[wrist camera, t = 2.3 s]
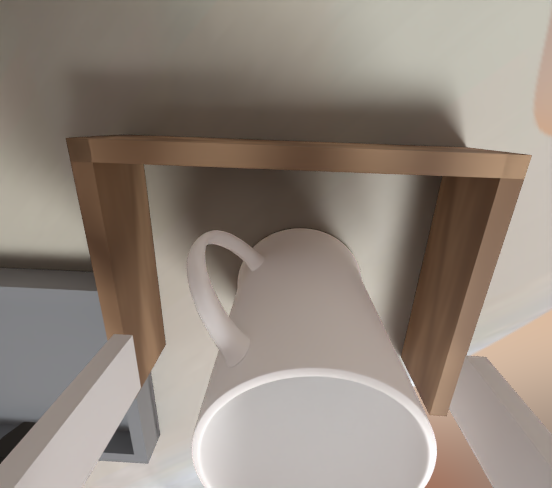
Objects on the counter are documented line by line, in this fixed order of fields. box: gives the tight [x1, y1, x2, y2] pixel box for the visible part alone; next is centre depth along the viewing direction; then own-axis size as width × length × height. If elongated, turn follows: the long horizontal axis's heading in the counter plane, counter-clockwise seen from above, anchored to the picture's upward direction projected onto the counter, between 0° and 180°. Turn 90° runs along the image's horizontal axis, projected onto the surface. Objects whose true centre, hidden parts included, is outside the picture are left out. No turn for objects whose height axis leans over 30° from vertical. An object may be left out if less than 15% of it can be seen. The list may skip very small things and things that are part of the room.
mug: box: [187, 228, 437, 488], centre depth 15 cm, size 12×8×12 cm
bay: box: [66, 135, 532, 416], centre depth 18 cm, size 20×15×5 cm
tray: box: [0, 268, 160, 464], centre depth 23 cm, size 16×16×2 cm
